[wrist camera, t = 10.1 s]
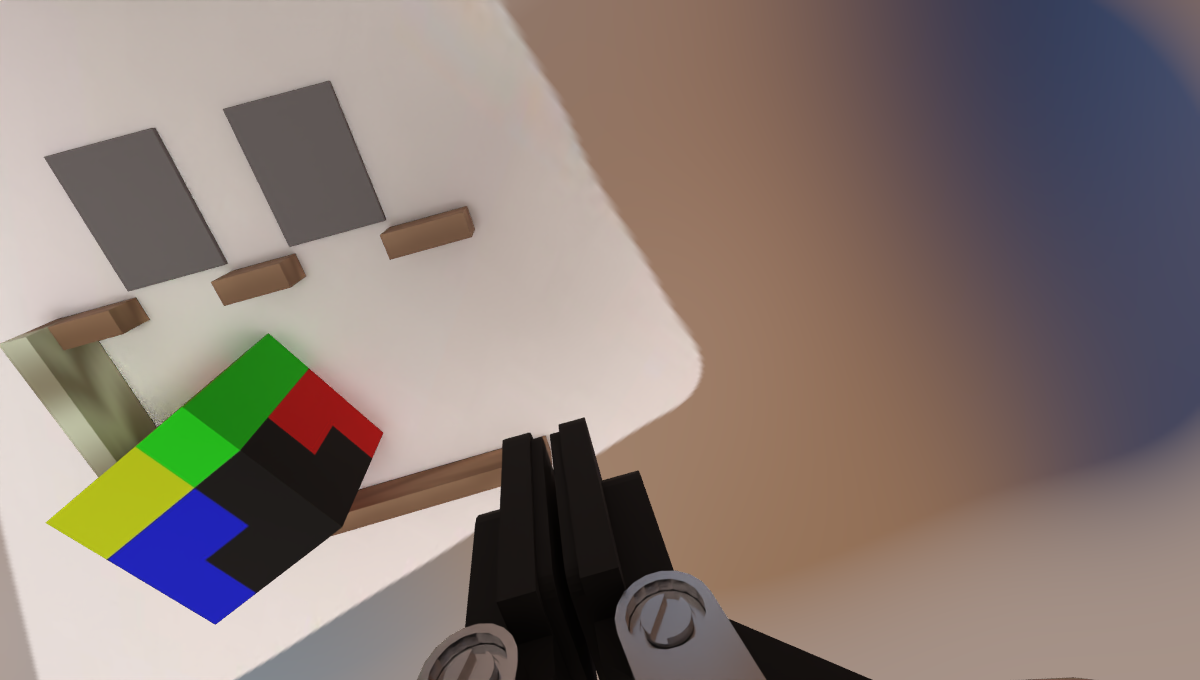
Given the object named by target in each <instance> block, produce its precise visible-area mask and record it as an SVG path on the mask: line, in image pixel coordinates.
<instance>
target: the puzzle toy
mask: <svg viewBox="0 0 1200 680" xmlns="http://www.w3.org/2000/svg"><path fill="white" fill-rule="evenodd" d="M382 435H383V432H382V431H381V430H379V429H378V428H377V427H376V426H375V425H374V424H373V423H371V422H370V421H369V420H368V419H367V418H366V417H364V416H363V415H362V414H361V413H360V412H359V411H358V410H356V409H355V408H354V407H353V406H352V405H351V404H349V403H348V402H347V401H346V400H345V399H344V398H342V397H341V396H340V395H339V394H338V393H337V392H336V391H334V390H333V389H332V388H331V387H330V386H329V385H327V384H326V383H325V382H324V381H323V380H322V379H321V378H319V377H318V376H317V375H316V374H315V373H314V372H312V371H311V370H310V369H309V368H308V367H307V366H305V365H304V364H303V363H302V362H301V361H300V360H299V359H297V358H296V357H295V356H294V355H293V354H292V353H290V352H289V351H288V350H287V349H286V348H285V347H284V346H282V345H281V344H280V343H279V342H278V341H277V340H275V339H274V338H273V337H272V336H271V335H270V334H267V335H266V336H264V337H263V338H262V339H261V340H260V341H259V342H257V343H256V344H255V345H254V346H253V347H251V348H250V349H249V350H248V351H247V352H246V353H244V354H243V355H242V356H241V357H240V358H239V359H237V360H236V361H235V362H234V363H233V364H231V365H230V366H229V367H228V368H227V369H226V370H224V371H223V372H222V373H221V374H220V375H218V376H217V377H216V378H215V379H214V380H213V381H211V382H210V383H209V384H208V385H207V386H206V387H204V388H203V389H202V390H201V391H200V392H198V393H197V394H196V395H195V396H194V397H193V398H191V399H190V400H189V401H188V402H187V403H185V404H184V405H183V406H182V407H181V408H180V409H178V410H177V411H176V412H175V413H174V414H173V415H171V416H170V417H169V418H168V419H167V420H165V421H164V422H163V423H162V424H161V425H160V426H158V427H157V428H156V429H155V430H154V431H153V432H151V433H150V434H149V435H148V436H147V437H145V438H144V439H143V440H142V441H141V442H140V443H138V444H137V445H136V446H135V447H134V448H133V449H131V450H130V451H129V452H128V453H127V454H126V455H124V456H123V457H122V458H121V459H120V460H119V461H117V462H116V463H115V464H114V465H113V466H111V467H110V468H109V469H108V470H107V471H106V472H104V473H103V474H102V475H101V476H100V477H99V478H97V479H96V480H95V481H94V482H93V483H92V484H90V485H89V486H88V487H87V488H86V489H85V490H83V491H82V492H81V493H80V494H79V495H78V496H76V497H75V498H74V499H73V500H72V501H70V502H69V503H68V504H67V505H66V506H65V507H63V508H62V509H61V510H60V511H59V512H58V513H56V514H55V515H54V516H53V517H52V518H51V519H49V520H48V521H47V522H46V523H47V524H48V525H50V526H52V527H53V528H55V529H57V530H58V531H60V532H62V533H63V534H65V535H67V536H68V537H70V538H72V539H73V540H75V541H77V542H78V543H80V544H82V545H83V546H85V547H87V548H88V549H90V550H92V551H93V552H95V553H97V554H98V555H100V556H102V557H103V558H105V559H107V560H108V561H110V562H112V563H113V564H115V565H117V566H118V567H120V568H122V569H123V570H125V571H127V572H128V573H130V574H132V575H133V576H135V577H137V578H138V579H140V580H142V581H143V582H145V583H147V584H148V585H150V586H152V587H153V588H155V589H157V590H158V591H160V592H162V593H163V594H165V595H167V596H168V597H170V598H172V599H173V600H175V601H177V602H178V603H180V604H182V605H183V606H185V607H187V608H188V609H190V610H192V611H193V612H195V613H197V614H198V615H200V616H202V617H203V618H205V619H207V620H208V621H210V622H212V623H213V624H215V625H216V624H217V623H218V622H220V621H221V620H222V619H223V618H225V617H226V616H227V615H229V614H230V613H231V612H233V611H234V610H235V609H236V608H238V607H239V606H240V605H242V604H243V603H244V602H246V601H247V600H248V599H249V598H251V597H252V596H253V595H255V594H256V593H257V592H259V591H260V590H261V589H262V588H264V587H265V586H266V585H268V584H269V583H270V582H272V581H273V580H274V579H276V578H277V577H278V576H279V575H281V574H282V573H283V572H285V571H286V570H287V569H289V568H290V567H291V566H292V565H294V564H295V563H296V562H298V561H299V560H300V559H302V558H303V557H304V556H305V555H307V554H308V553H309V552H311V551H312V550H313V549H315V548H316V547H317V546H319V545H320V544H321V543H322V542H324V541H325V540H326V539H328V538H329V537H330V536H332V535H333V534H334V533H335V532H337V531H338V530H339V529H341V528H342V527H343V525H344V522H345V520H346V518H347V515H348V513H349V511H350V508H351V506H352V504H353V502H354V499H355V497H356V495H357V492H358V490H359V488H360V485H361V483H362V481H363V478H364V476H365V474H366V472H367V469H368V467H369V465H370V462H371V460H372V458H373V455H374V453H375V451H376V448H377V446H378V444H379V441H380V439H381V437H382Z"/></svg>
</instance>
